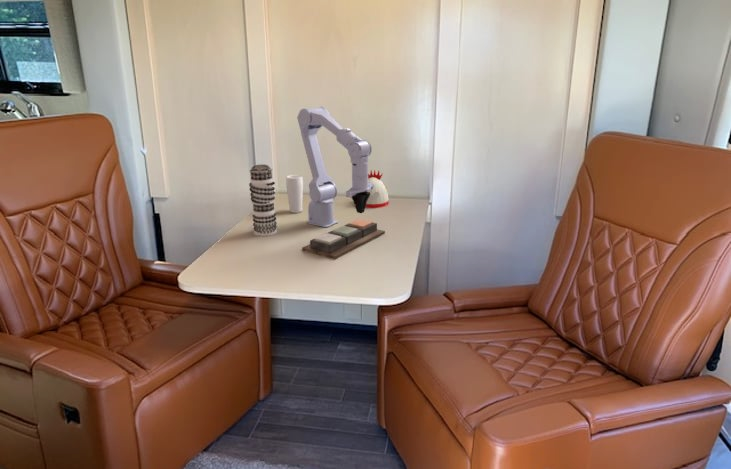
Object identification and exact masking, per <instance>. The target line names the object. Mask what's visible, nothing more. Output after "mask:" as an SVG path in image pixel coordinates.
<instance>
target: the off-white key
mask: <svg viewBox="0 0 731 469" xmlns="http://www.w3.org/2000/svg"><path fill="white" fill-rule="evenodd" d="M314 239H315V241H318V242H322V243H326V244H332V243H334V242H336V241H338V240H340V239H342V237H341V236H338V235H333V234H329V233H328V232H326V233H324V234H321V235H319V236H316V237H314Z"/></svg>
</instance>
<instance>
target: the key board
mask: <svg viewBox="0 0 731 469" xmlns="http://www.w3.org/2000/svg"><path fill="white" fill-rule="evenodd" d="M343 226H347V227H352V228H356V229H358V231H357V232H355V233H353V234H351V235H349V236H344V235H340V234H335V233H332V230H331V231H328V232H327V233H329V234H333V235H338V236H341V237H342V239H340V240H338V241H336V242H334V243H332V244H326V243H322V242H318V241H315V238H313V239H310V241H309V244H307V245H305V246H303V247H301V251H303V252H306V253H309V254H313V255H318V256H321V257H324V258H329V259H332V260H336V259H338V258H341V257H342V256H344V255H346V254H348V253H350V252H352V251H354V250H356V249H358V248H360V247H362V246H363V245H366V244H367V243H369V242H372V241H373V240H375V239H377V238H379V237H381V236H383V235H385V233H386V231H385V230H381V229H378V223H377V222H373V224H372V225H370V226H368V227H366V228H363V229H362V228H358V227H353V226H348V223H346V224H344V225H343Z"/></svg>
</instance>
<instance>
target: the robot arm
mask: <svg viewBox="0 0 731 469" xmlns="http://www.w3.org/2000/svg"><path fill="white" fill-rule="evenodd" d="M296 119H297V122H298V126H299V129H300V135H301V138H302V142H303V146H304V150H305V154H306V159H307V162H308V165H309V169H310V173H311V177H312V179H311V181H310V182H309V183H308V188H309V198H310V199H311V200H310V202H308V207H307V210H308V212H307V213H308V221H307V224H309V225H314V226H319V227H322V228H328V227H331V226H333V225H335V224H337V223H339V220H336V219H334V218H335V216H334V201H335V198H336V197H337V195H338V187H337V185H336V184H335V182H334V179H333V177H331V176H329V175H328V174H327V170H326V167H325V163H324V159H323V156H322V152H321V147H320V144H319V140H318V136H317V133H318V131H320V129H321V128H322V127H324V128H326V130H327V131H329V132H331V134H332V135H334V136H336V141H337V142H338V143H339V144H340V145H341V146H342V147H344V148H345V149H346V150H347V152H348V153H347V154H348V155H349V156H348V157H350V163H351V182H352V184H351V187H350V188H349V189H348V190H346V191H345V197H346V198H350V199H352V201H353V203H354V205H355V210H356V212H357V213H358V214H363V213H364V212H365V210H366V207H365V206H366V203H367V200H368V198H369V196H370V192H367V191H370V190H371V189H374V184H372V183H368V174H369V156H371V154H372V150H373V148H372V145H371V143H370V142H369V140H367V139H362V138H360V137H359V136H357V134H355V133H354V132H353V131H352V129H351V128H348V127H344V128H343V127H342V126H341V125H340V124H339V123H338V122H337V121H336V120H335V119H334V118H333V117H332V115H330V112H329V110H327V109H326V108H325V107H323V106H318V107H311V108H310V107H308V108H301V109H300V110H299V112H298V115H297V117H296Z"/></svg>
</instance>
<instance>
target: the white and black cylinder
mask: <svg viewBox="0 0 731 469" xmlns="http://www.w3.org/2000/svg"><path fill="white" fill-rule="evenodd" d="M272 171H273V168H271V167H270V166H269V165H268V164H256V165H253V166H252V167H251V169H249V172H250V182H249V184H248V186H249V191H250V200H251V204H252V208H253V209H252V218H253V219H252V221H253V224H252V225H253V230H254V231H253V234H254V235H256V236H259V235H260V236H259V237H267V236H272V235H275V234H277V232H278V231H277V228H278V227H277V221H276V220H277V217H276V215H277V213H276V208H275V204H274V203H275V202H276V197H275V196H274V195H275V193H276V191H274V190H276V189H275V188H276V187H274V185H275V183H276V182H274V179H273V173H272Z"/></svg>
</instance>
